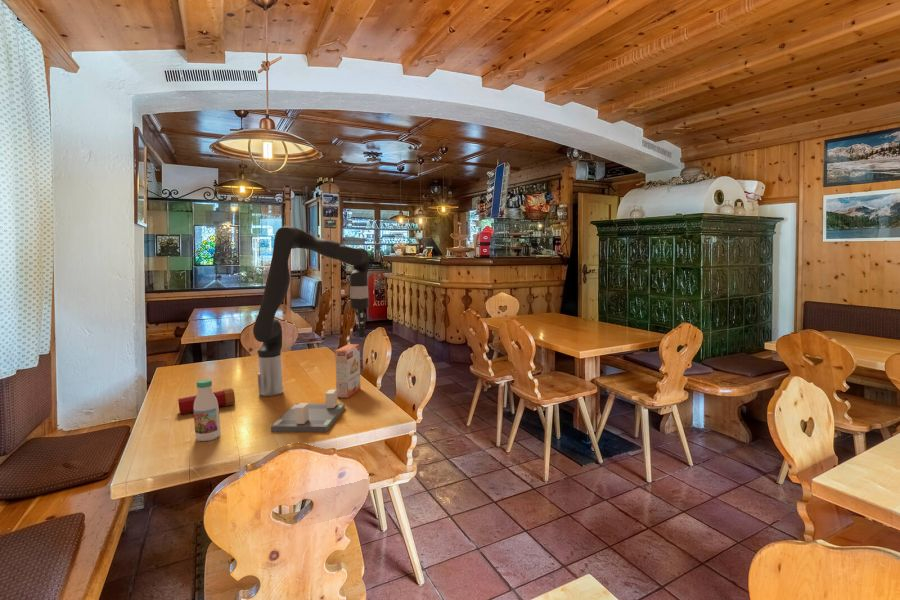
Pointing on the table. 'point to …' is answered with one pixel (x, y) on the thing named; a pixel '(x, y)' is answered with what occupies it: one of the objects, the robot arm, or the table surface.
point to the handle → (331, 398)
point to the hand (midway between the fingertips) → (360, 335)
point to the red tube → (222, 397)
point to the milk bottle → (206, 412)
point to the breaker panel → (317, 420)
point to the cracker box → (347, 370)
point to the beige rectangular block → (301, 413)
